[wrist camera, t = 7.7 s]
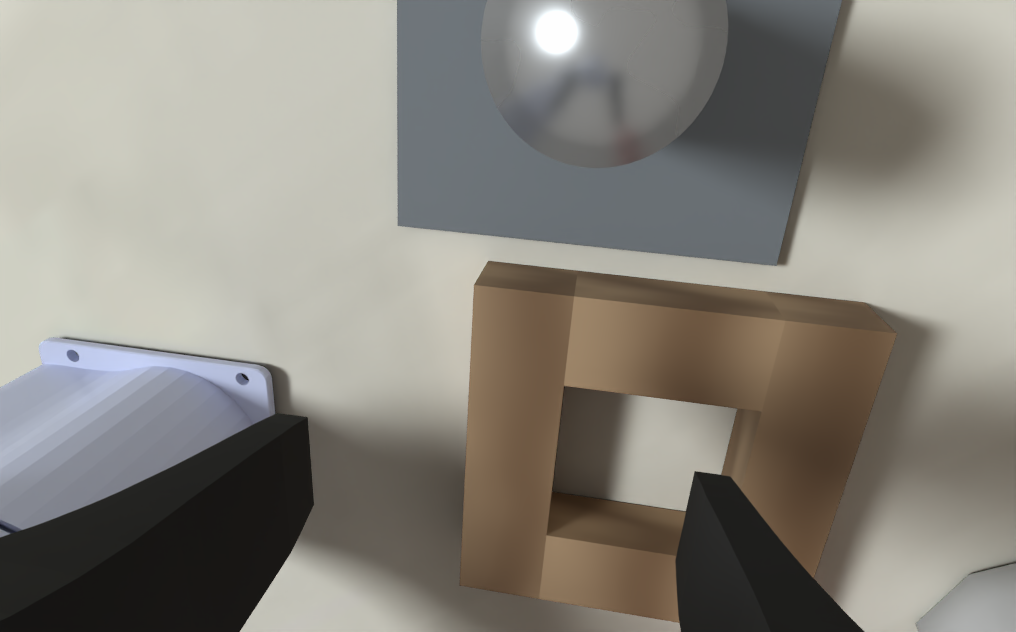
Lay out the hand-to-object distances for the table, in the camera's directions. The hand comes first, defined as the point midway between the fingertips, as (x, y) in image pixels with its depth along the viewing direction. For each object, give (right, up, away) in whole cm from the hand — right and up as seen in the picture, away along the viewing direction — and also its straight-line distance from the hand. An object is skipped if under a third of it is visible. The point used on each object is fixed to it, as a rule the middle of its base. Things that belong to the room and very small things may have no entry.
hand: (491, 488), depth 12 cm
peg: (+3, +11, +6) cm, 13 cm away
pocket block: (+5, -1, +11) cm, 12 cm away
